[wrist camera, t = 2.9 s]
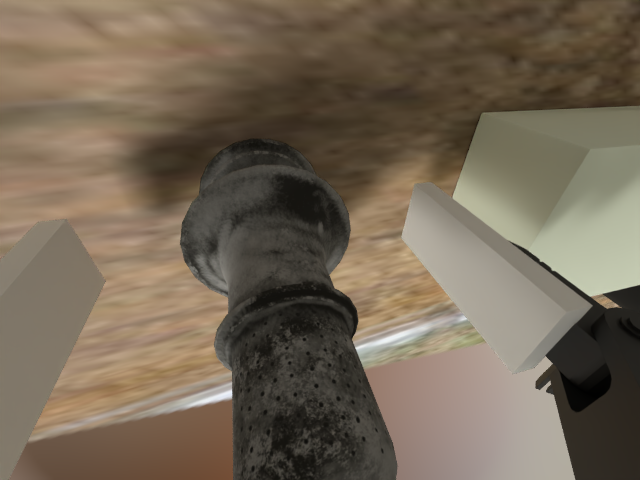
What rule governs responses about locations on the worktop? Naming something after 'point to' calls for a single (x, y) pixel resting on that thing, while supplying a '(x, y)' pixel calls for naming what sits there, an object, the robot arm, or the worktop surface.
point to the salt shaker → (285, 318)
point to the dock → (562, 189)
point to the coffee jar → (626, 298)
